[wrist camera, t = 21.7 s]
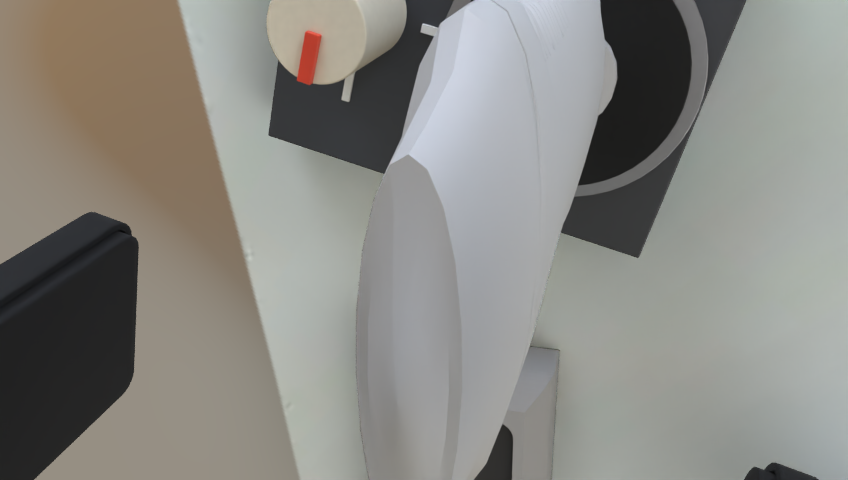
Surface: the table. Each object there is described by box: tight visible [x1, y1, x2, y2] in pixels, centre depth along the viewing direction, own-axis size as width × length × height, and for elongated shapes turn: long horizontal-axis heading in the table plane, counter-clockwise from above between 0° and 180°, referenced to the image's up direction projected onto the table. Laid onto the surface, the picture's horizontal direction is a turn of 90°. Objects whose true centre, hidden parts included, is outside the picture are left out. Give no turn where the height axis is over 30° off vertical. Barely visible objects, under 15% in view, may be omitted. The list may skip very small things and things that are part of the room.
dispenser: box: [356, 0, 617, 480], centre depth 21 cm, size 11×4×22 cm, turn 179°
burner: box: [445, 0, 708, 197], centre depth 31 cm, size 11×11×1 cm
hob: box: [269, 0, 746, 258], centre depth 33 cm, size 19×14×3 cm
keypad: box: [474, 346, 559, 480], centre depth 43 cm, size 10×4×15 cm
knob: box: [267, 0, 407, 85], centre depth 30 cm, size 4×4×5 cm
